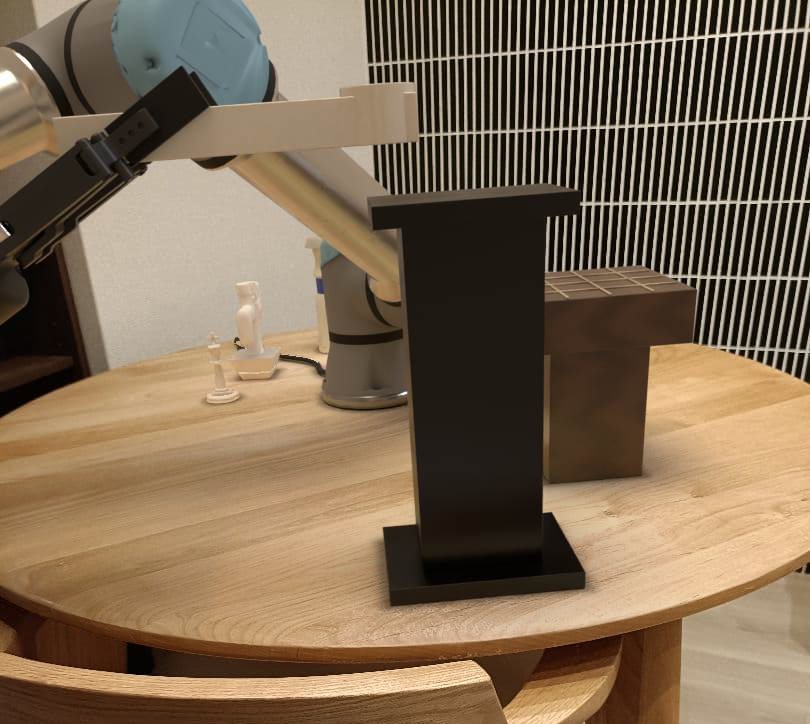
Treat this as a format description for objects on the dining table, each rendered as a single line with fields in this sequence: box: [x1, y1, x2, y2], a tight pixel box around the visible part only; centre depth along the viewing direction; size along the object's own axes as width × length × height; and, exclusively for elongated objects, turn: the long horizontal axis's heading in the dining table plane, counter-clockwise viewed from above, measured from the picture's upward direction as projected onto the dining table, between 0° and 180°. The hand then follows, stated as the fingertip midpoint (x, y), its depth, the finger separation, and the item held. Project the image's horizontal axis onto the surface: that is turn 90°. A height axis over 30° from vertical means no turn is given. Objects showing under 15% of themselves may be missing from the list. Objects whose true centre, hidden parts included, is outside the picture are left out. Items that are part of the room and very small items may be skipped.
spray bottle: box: [304, 234, 330, 354], centre depth 143 cm, size 8×9×25 cm
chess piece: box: [206, 331, 240, 405], centre depth 122 cm, size 5×5×10 cm
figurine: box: [228, 280, 283, 381], centre depth 132 cm, size 7×9×15 cm
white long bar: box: [52, 81, 420, 163], centre depth 56 cm, size 24×5×4 cm, turn 94°
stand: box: [367, 182, 587, 607], centre depth 65 cm, size 16×12×30 cm
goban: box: [543, 264, 698, 484], centre depth 87 cm, size 16×16×20 cm
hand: (201, 88), depth 55 cm, fingers closed on white long bar, 4 cm apart
